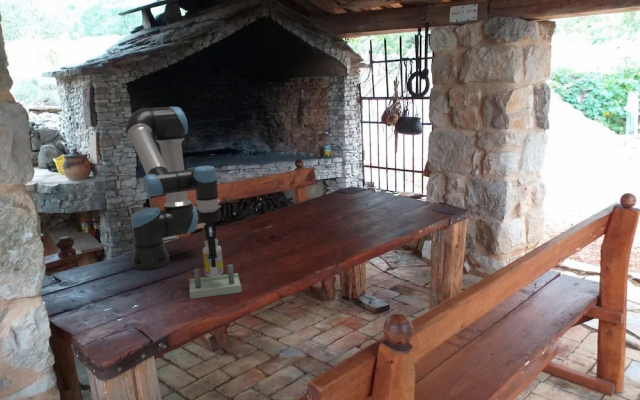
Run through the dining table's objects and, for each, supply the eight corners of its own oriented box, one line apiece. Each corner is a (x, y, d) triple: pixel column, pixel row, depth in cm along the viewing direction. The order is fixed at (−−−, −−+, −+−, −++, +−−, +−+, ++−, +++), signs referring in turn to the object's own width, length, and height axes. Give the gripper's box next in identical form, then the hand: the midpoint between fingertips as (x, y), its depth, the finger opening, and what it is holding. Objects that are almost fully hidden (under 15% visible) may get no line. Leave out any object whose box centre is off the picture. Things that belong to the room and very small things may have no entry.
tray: (190, 298, 176) (188, 276, 174) (190, 285, 187) (188, 264, 185) (241, 292, 180) (239, 270, 178) (238, 279, 191) (236, 258, 189)
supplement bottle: (207, 270, 185) (204, 237, 182) (225, 270, 185) (222, 237, 182) (202, 277, 179) (199, 243, 176) (221, 276, 178) (218, 242, 176)
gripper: (220, 215, 168) (226, 279, 173) (217, 202, 186) (222, 261, 192) (198, 217, 166) (204, 282, 171) (197, 204, 185) (202, 263, 190)
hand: (213, 271), depth 182 cm, fingers closed on supplement bottle, 7 cm apart
